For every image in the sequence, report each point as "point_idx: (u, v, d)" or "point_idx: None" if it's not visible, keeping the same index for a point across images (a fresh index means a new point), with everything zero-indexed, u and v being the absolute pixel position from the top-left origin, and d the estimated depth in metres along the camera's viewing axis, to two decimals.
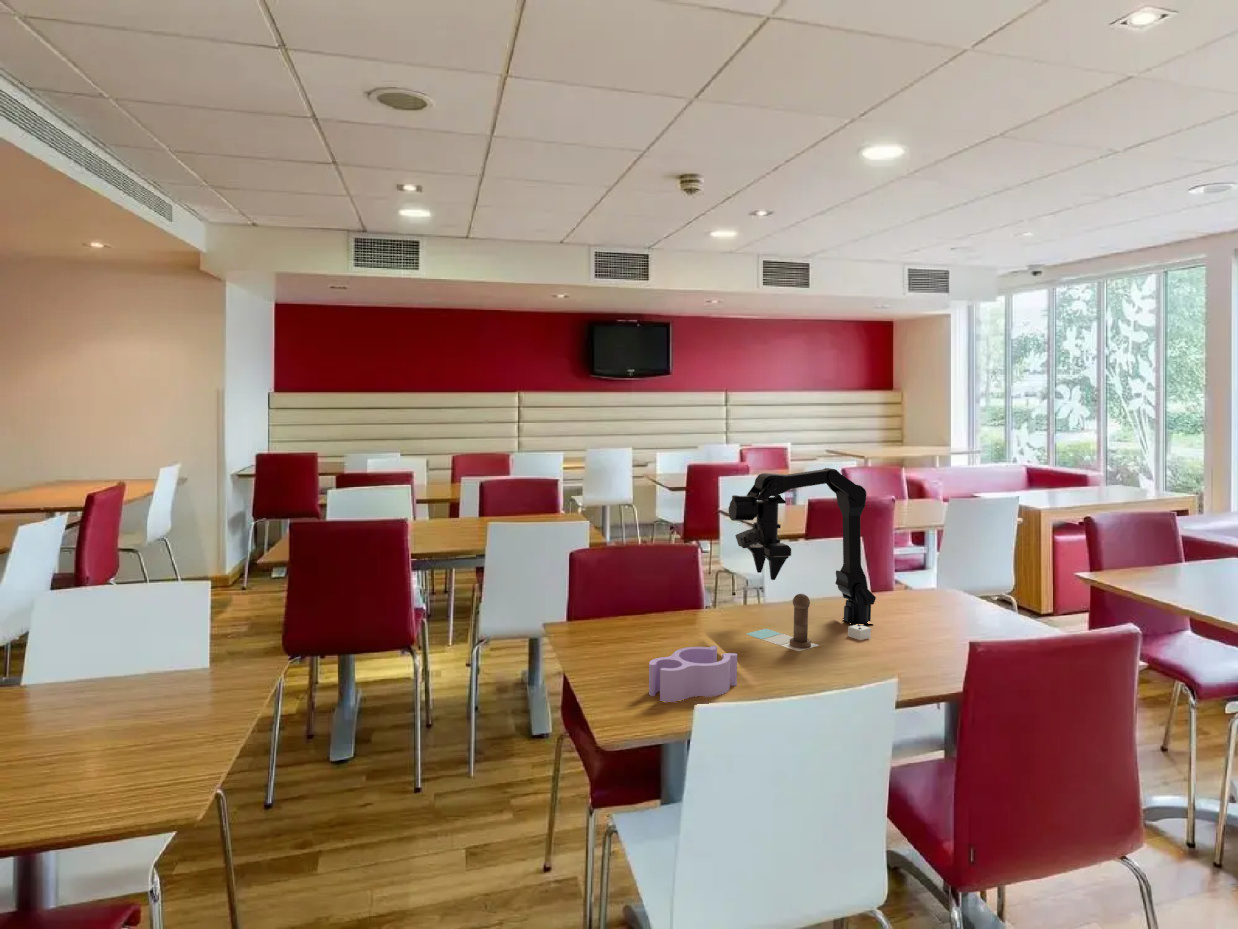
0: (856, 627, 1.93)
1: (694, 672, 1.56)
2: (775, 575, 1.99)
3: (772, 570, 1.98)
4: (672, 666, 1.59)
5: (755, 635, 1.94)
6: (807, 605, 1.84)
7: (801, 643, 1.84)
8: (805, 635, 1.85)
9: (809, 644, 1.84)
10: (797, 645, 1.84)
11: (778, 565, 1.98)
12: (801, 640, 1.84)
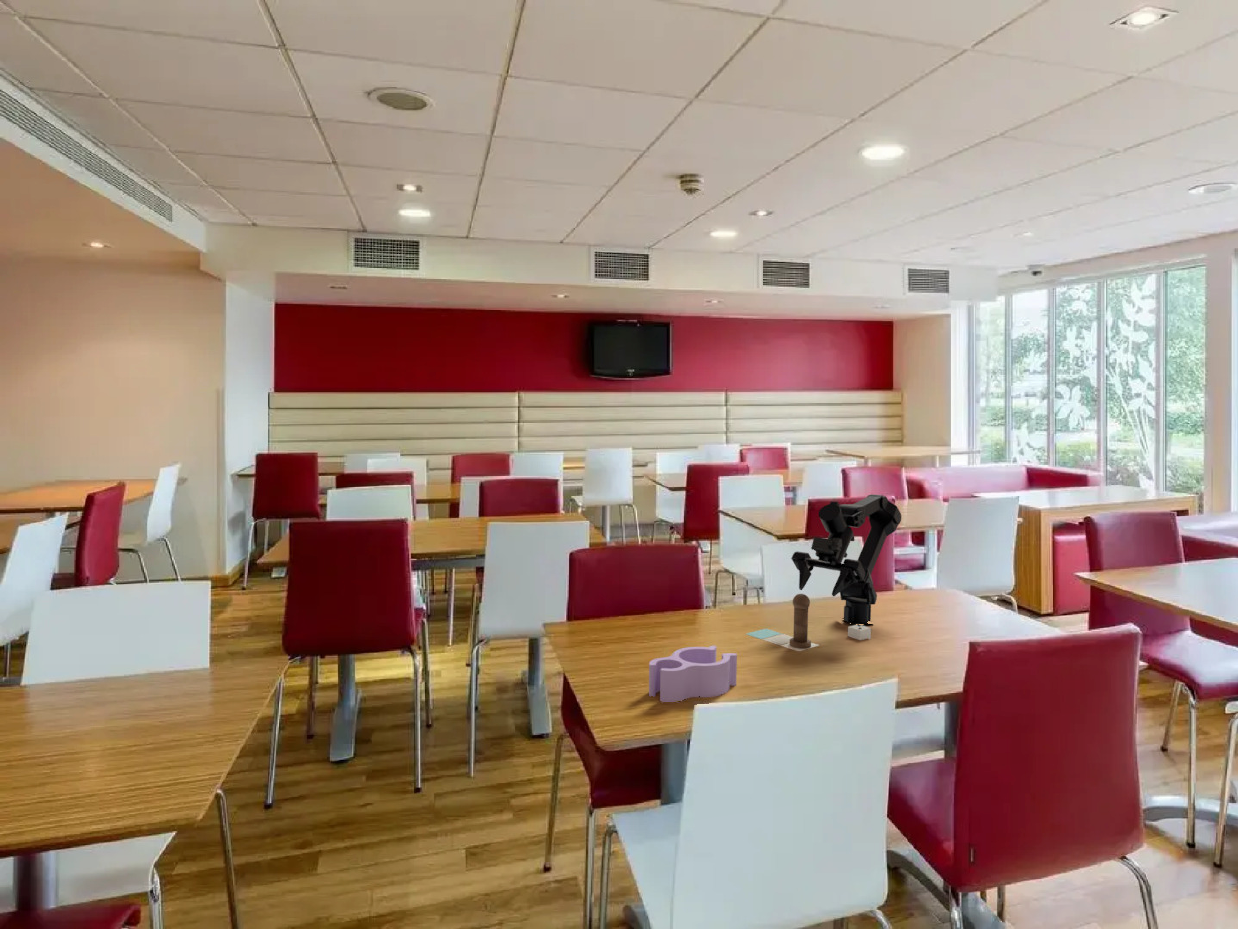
0: (856, 627, 1.93)
1: (694, 672, 1.56)
2: (837, 592, 1.89)
3: (839, 585, 1.89)
4: (672, 666, 1.59)
5: (755, 635, 1.94)
6: (807, 605, 1.84)
7: (801, 643, 1.84)
8: (805, 635, 1.85)
9: (809, 644, 1.84)
10: (797, 645, 1.84)
11: (844, 584, 1.90)
12: (800, 640, 1.84)
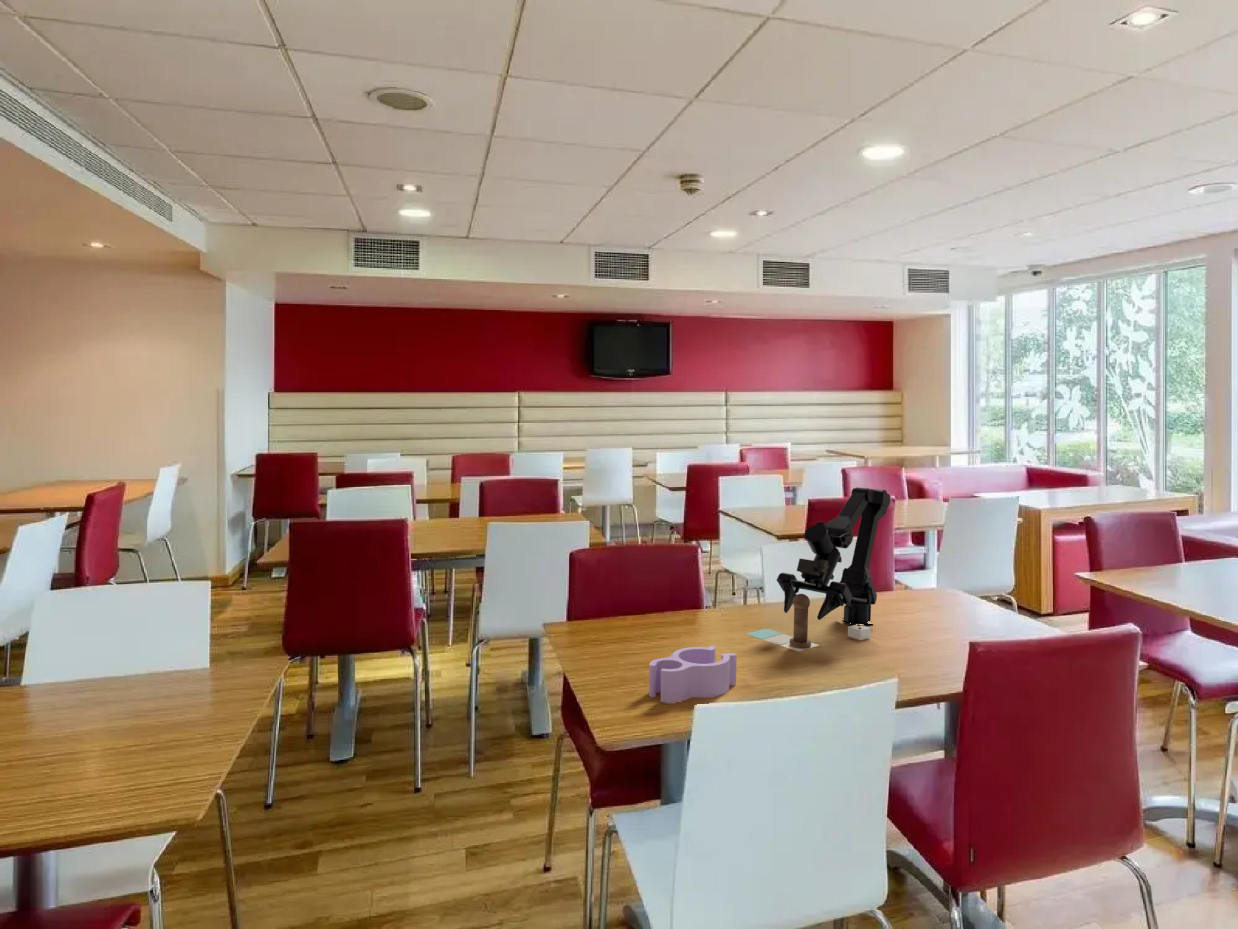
0: (856, 627, 1.93)
1: (694, 672, 1.55)
2: (822, 616, 1.83)
3: (825, 608, 1.83)
4: (672, 667, 1.59)
5: (755, 635, 1.94)
6: (807, 605, 1.84)
7: (801, 643, 1.84)
8: (805, 635, 1.85)
9: (809, 644, 1.84)
10: (797, 645, 1.84)
11: (830, 608, 1.84)
12: (801, 640, 1.84)
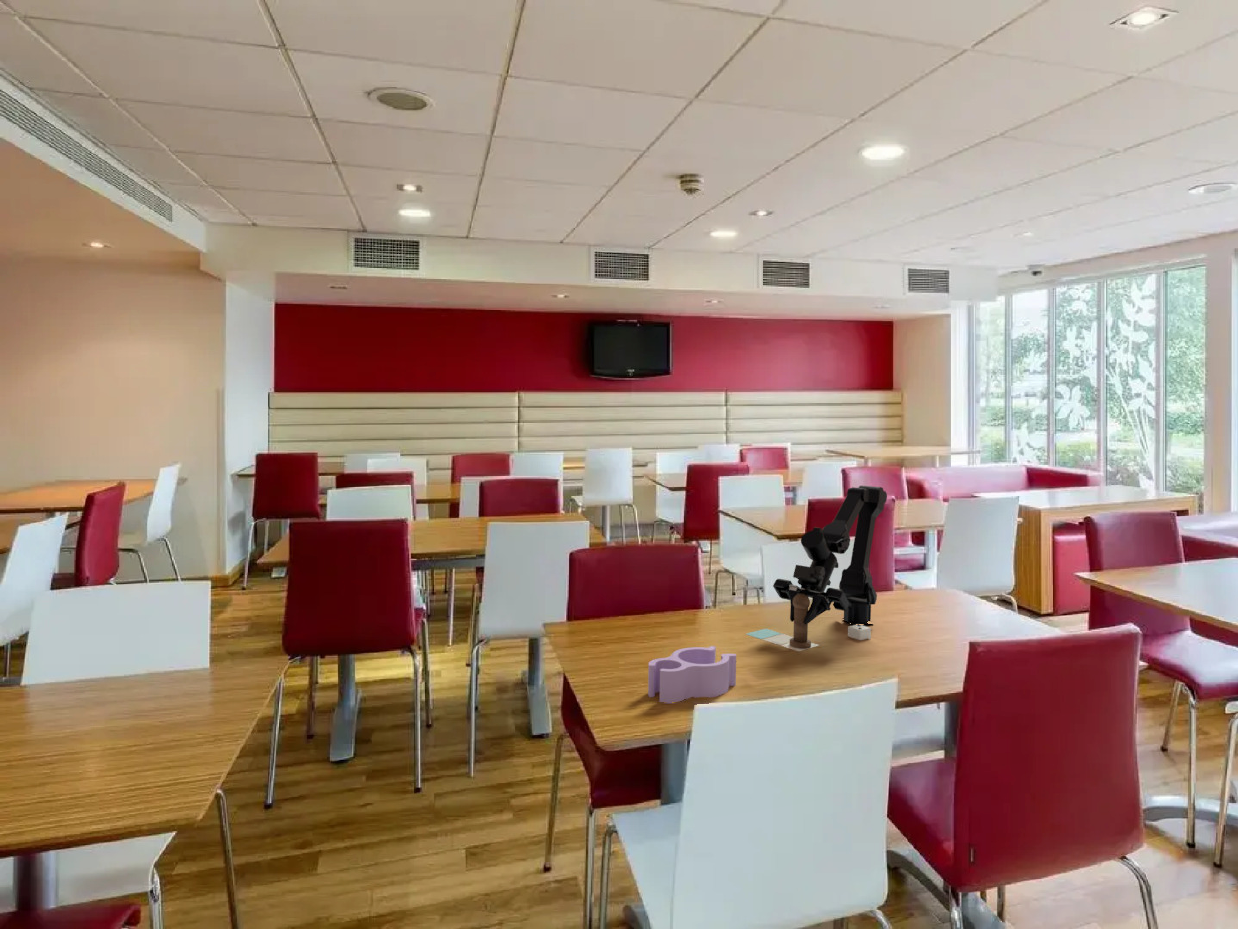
0: (856, 627, 1.93)
1: (693, 673, 1.55)
2: (809, 620, 1.84)
3: (811, 613, 1.84)
4: (671, 667, 1.59)
5: (755, 635, 1.94)
6: (807, 605, 1.84)
7: (801, 643, 1.84)
8: (805, 635, 1.85)
9: (809, 644, 1.84)
10: (797, 645, 1.84)
11: (816, 612, 1.85)
12: (801, 640, 1.84)
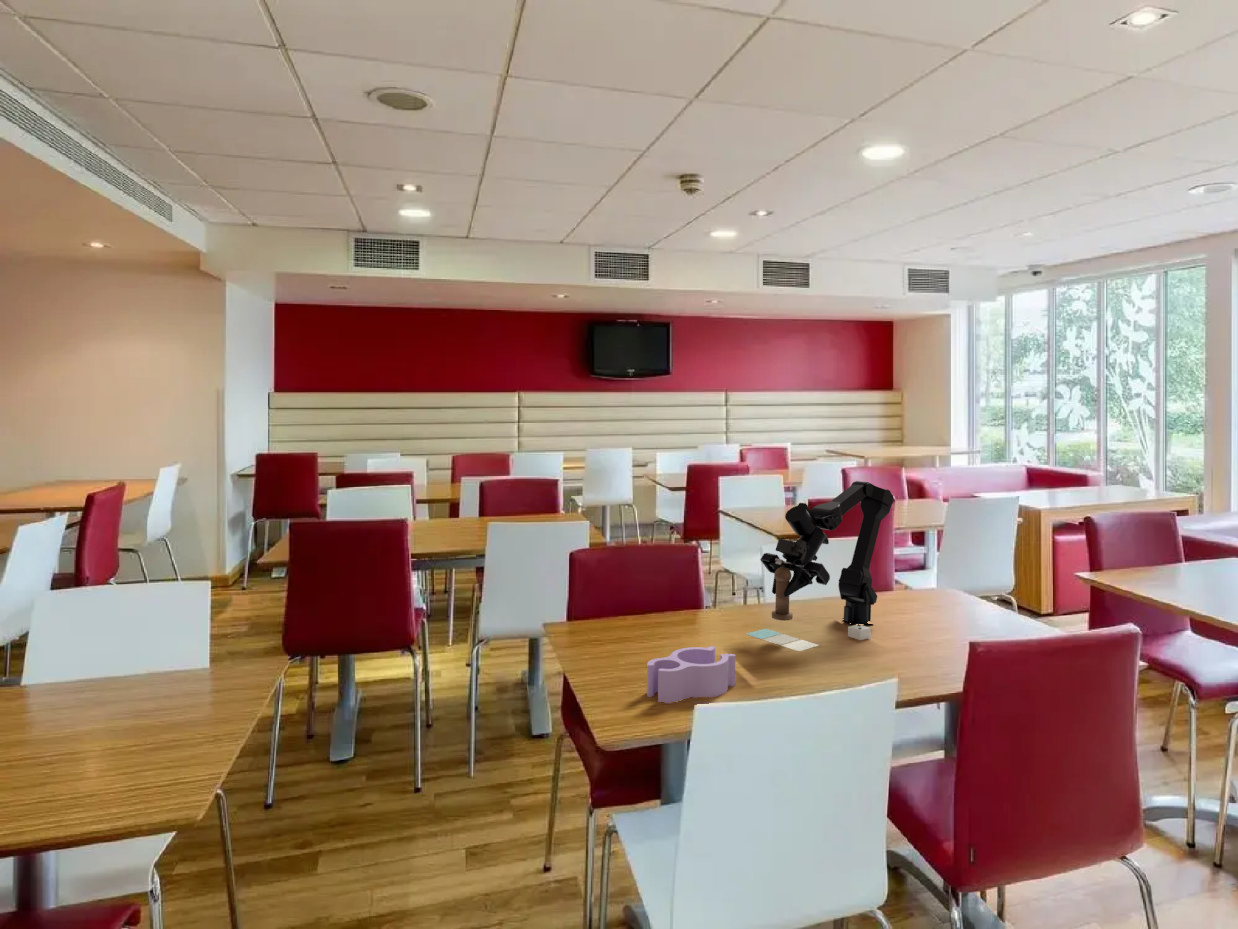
0: (856, 627, 1.93)
1: (692, 673, 1.55)
2: (789, 593, 1.87)
3: (792, 586, 1.87)
4: (670, 667, 1.59)
5: (755, 635, 1.94)
6: (787, 578, 1.87)
7: (781, 615, 1.88)
8: (786, 607, 1.88)
9: (789, 616, 1.88)
10: (777, 617, 1.88)
11: (798, 585, 1.88)
12: (781, 612, 1.88)
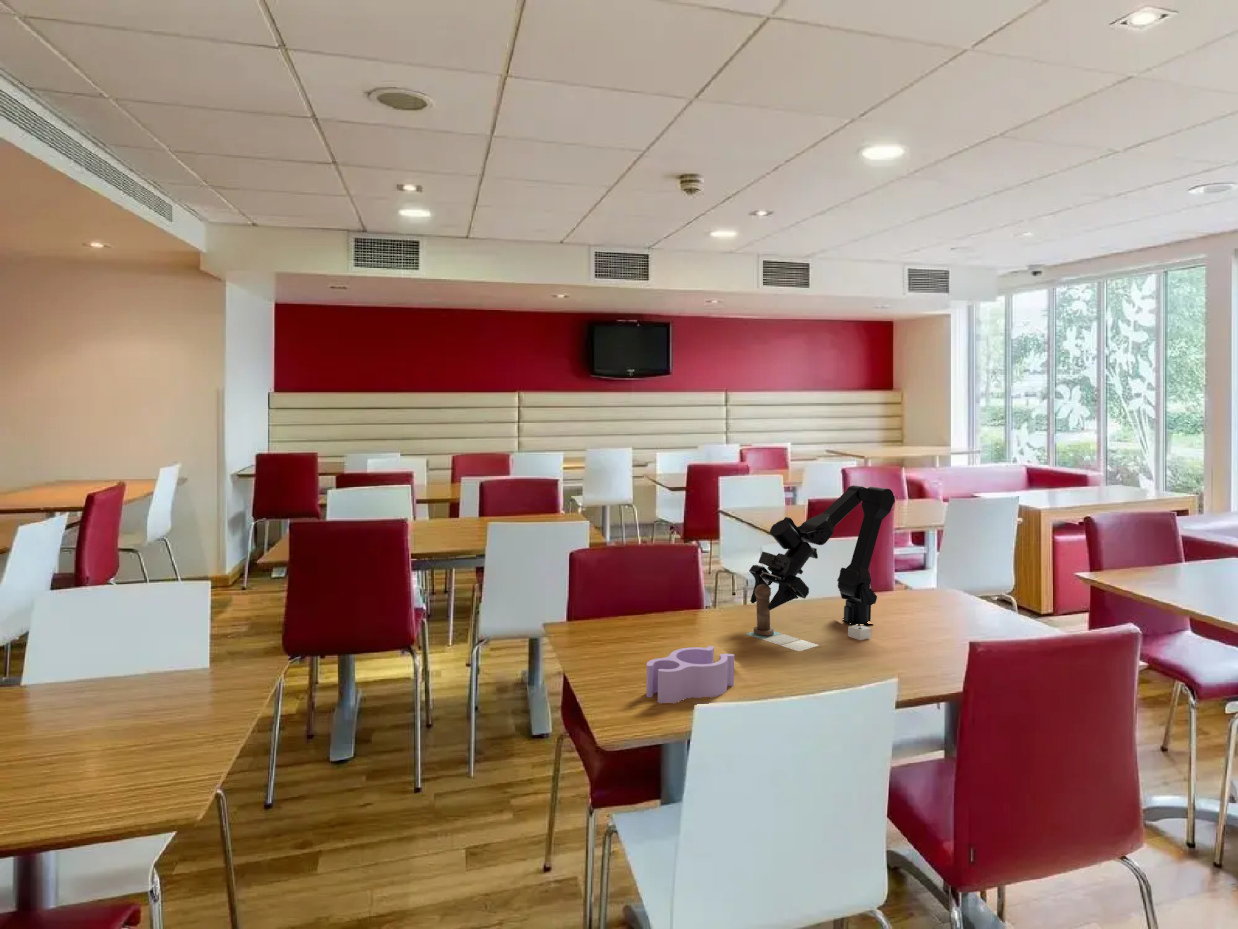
0: (856, 627, 1.93)
1: (692, 673, 1.55)
2: (774, 606, 1.91)
3: (776, 599, 1.91)
4: (669, 667, 1.59)
5: (755, 635, 1.94)
6: (766, 595, 1.93)
7: (761, 631, 1.94)
8: (766, 624, 1.94)
9: (769, 632, 1.93)
10: (757, 633, 1.94)
11: (783, 599, 1.92)
12: (761, 628, 1.94)
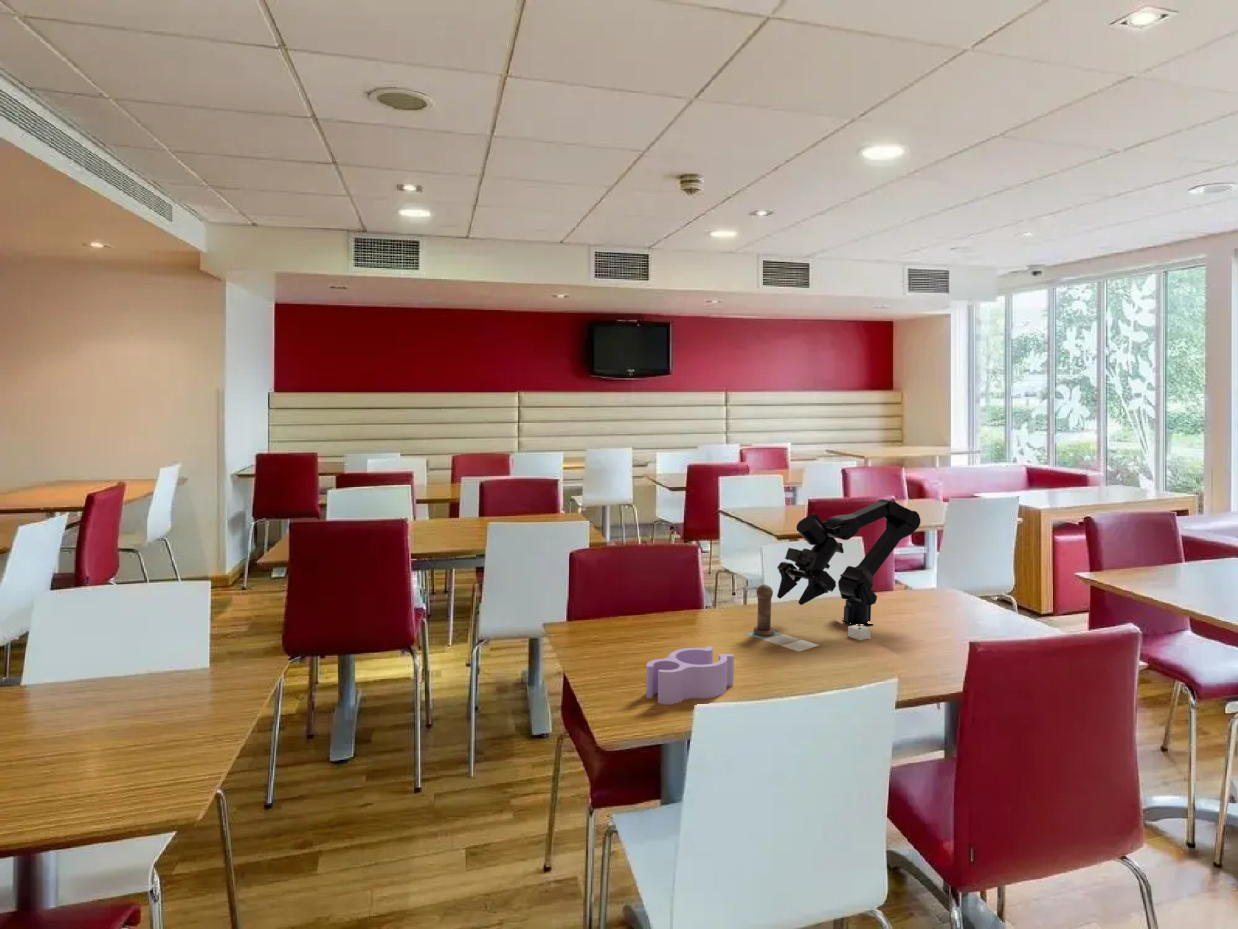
0: (856, 627, 1.93)
1: (692, 673, 1.55)
2: (804, 601, 1.95)
3: (806, 594, 1.95)
4: (669, 668, 1.58)
5: (755, 635, 1.94)
6: (768, 596, 1.93)
7: (761, 631, 1.94)
8: (766, 624, 1.94)
9: (769, 633, 1.93)
10: (757, 632, 1.94)
11: (813, 594, 1.95)
12: (761, 628, 1.94)
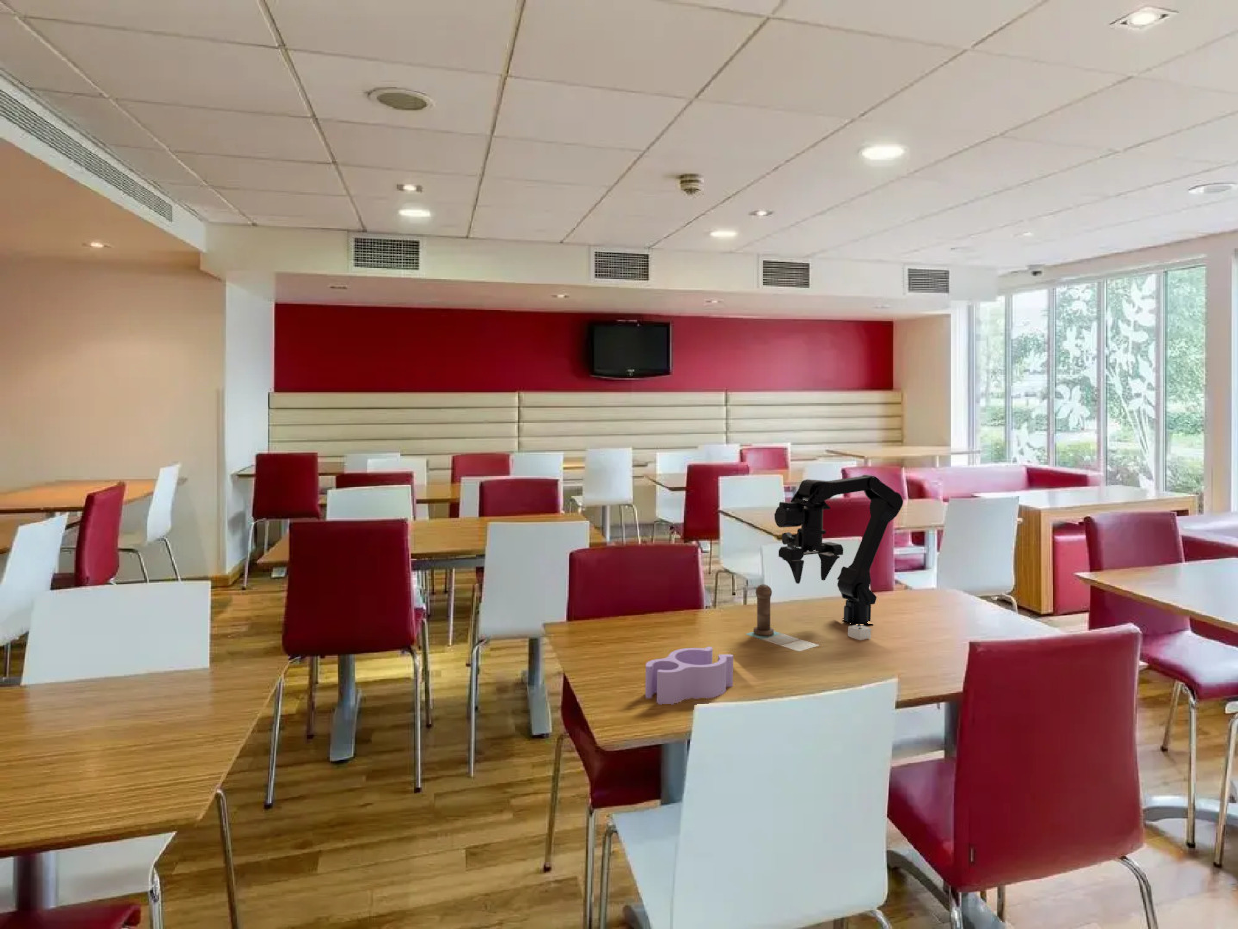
0: (856, 627, 1.93)
1: (691, 674, 1.55)
2: (797, 579, 2.02)
3: (793, 573, 2.03)
4: (668, 668, 1.58)
5: (755, 635, 1.94)
6: (766, 595, 1.93)
7: (761, 631, 1.94)
8: (766, 624, 1.94)
9: (769, 633, 1.93)
10: (757, 632, 1.94)
11: (796, 569, 2.01)
12: (761, 628, 1.94)
